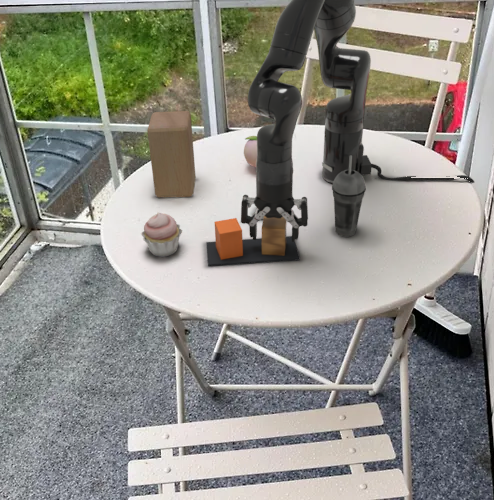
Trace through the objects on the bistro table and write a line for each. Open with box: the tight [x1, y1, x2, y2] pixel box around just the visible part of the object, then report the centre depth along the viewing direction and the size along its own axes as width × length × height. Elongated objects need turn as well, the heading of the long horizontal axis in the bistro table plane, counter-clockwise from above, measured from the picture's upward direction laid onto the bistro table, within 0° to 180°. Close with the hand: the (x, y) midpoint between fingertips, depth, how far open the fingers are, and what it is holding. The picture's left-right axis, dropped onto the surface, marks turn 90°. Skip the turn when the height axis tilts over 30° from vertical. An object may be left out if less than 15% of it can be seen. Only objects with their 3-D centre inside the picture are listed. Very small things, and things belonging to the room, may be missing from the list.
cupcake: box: [140, 211, 183, 258], centre depth 148 cm, size 9×9×10 cm
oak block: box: [261, 216, 288, 256], centre depth 144 cm, size 5×5×7 cm
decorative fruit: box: [243, 135, 257, 168], centre depth 174 cm, size 9×8×10 cm
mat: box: [206, 235, 301, 267], centre depth 147 cm, size 20×8×1 cm, turn 90°
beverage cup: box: [331, 155, 367, 238], centre depth 145 cm, size 7×7×20 cm
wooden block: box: [146, 110, 197, 198], centre depth 167 cm, size 10×10×20 cm
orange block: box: [214, 217, 243, 260], centre depth 145 cm, size 5×5×7 cm
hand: (274, 238), depth 145 cm, fingers open, 8 cm apart
